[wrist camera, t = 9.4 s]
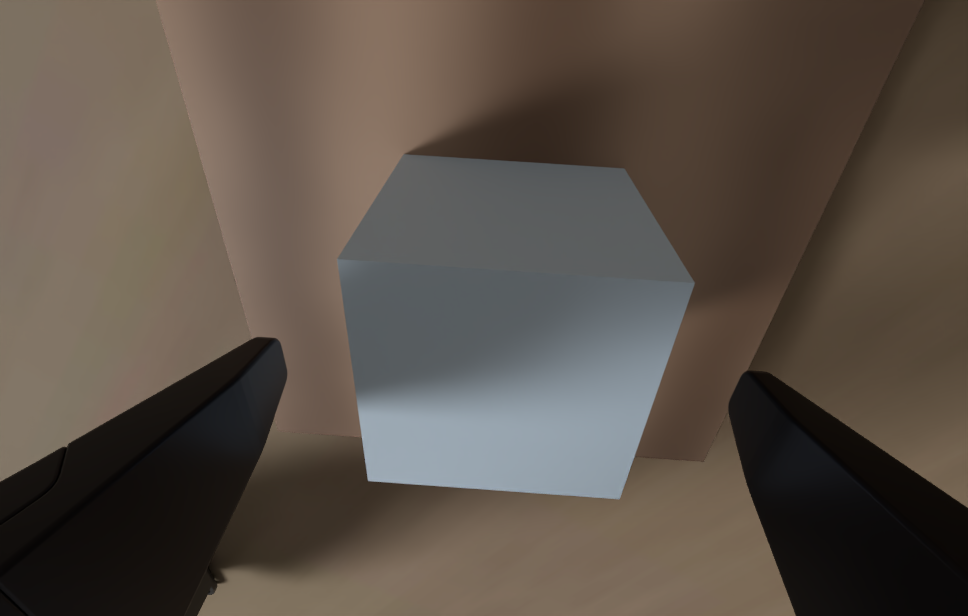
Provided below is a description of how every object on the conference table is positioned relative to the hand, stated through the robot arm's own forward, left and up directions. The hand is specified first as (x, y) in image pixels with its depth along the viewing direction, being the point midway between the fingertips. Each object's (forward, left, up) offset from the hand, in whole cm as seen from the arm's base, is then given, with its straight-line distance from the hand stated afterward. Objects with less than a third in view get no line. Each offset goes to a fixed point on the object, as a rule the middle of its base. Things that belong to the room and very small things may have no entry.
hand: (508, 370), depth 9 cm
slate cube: (0, 0, -5) cm, 5 cm away
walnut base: (0, 0, -8) cm, 8 cm away
